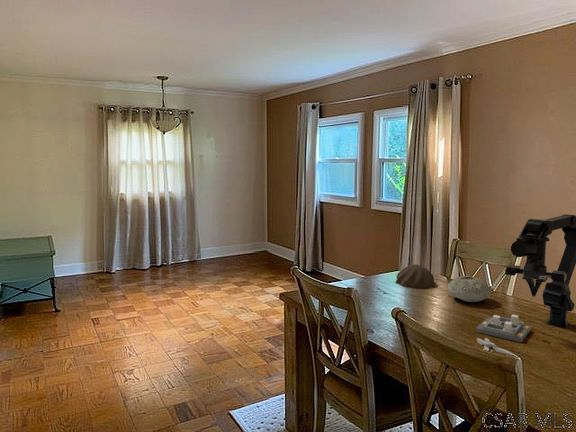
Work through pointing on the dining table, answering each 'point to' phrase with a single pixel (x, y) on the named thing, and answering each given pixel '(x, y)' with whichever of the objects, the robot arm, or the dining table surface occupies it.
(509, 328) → the tab
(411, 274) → the decorative dome
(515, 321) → the tab
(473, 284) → the grey rounded stone
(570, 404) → the dining table surface
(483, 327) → the switch bank
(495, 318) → the tab
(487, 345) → the pliers
